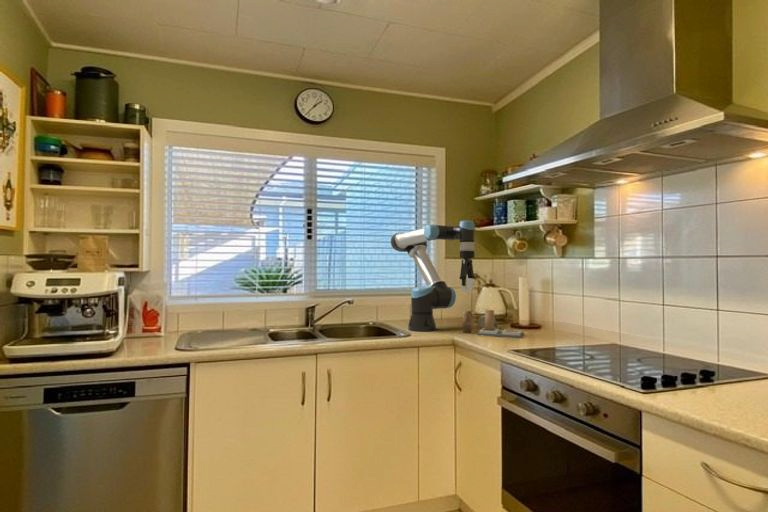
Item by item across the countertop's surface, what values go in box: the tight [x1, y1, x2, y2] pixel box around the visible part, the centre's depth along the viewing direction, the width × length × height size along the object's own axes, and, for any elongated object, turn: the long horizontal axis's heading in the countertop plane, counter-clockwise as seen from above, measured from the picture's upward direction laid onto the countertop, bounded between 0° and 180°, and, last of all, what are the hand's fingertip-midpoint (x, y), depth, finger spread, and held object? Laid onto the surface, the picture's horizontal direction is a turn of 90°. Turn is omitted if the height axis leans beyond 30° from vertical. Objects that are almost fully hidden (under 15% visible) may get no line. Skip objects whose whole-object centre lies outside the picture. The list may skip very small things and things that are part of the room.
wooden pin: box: [462, 310, 472, 334], centre depth 228 cm, size 4×4×11 cm
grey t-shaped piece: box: [476, 309, 525, 339], centre depth 221 cm, size 21×12×12 cm, turn 66°
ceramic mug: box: [477, 314, 499, 329], centre depth 241 cm, size 11×8×8 cm
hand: (467, 291), depth 228 cm, fingers open, 13 cm apart
